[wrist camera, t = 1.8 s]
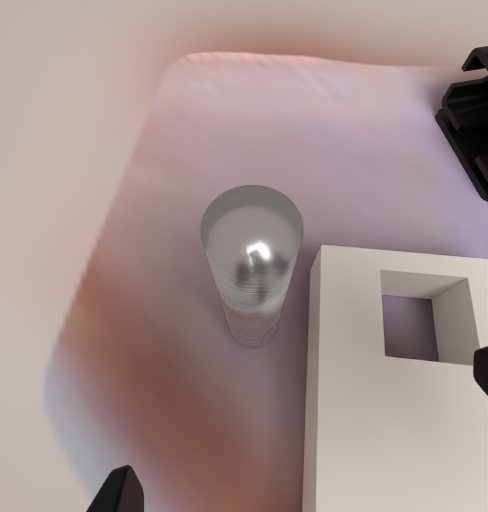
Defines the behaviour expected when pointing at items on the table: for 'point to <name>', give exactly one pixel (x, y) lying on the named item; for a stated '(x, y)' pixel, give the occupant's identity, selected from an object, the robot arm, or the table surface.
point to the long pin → (252, 257)
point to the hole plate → (394, 387)
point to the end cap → (469, 121)
